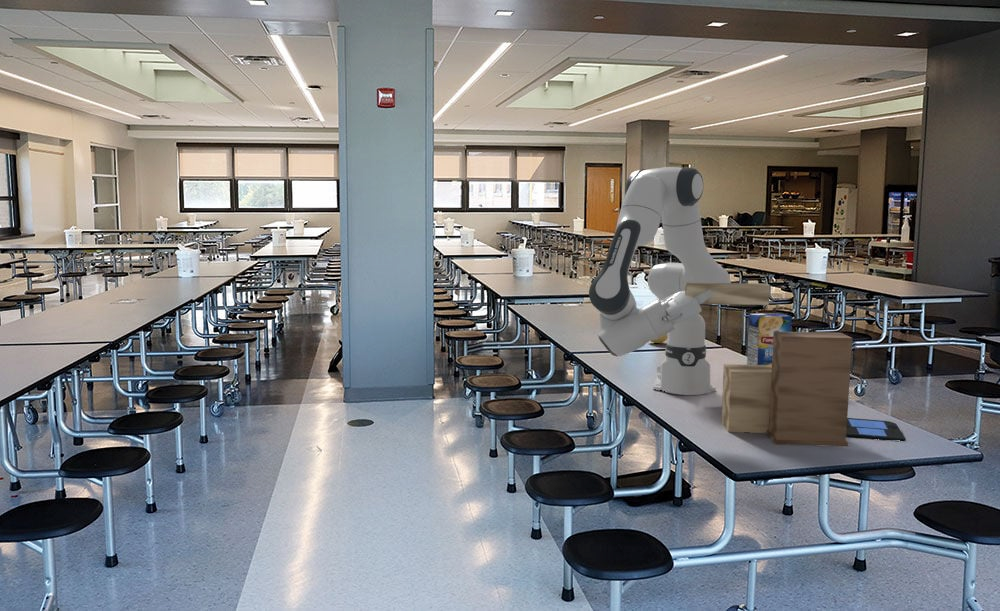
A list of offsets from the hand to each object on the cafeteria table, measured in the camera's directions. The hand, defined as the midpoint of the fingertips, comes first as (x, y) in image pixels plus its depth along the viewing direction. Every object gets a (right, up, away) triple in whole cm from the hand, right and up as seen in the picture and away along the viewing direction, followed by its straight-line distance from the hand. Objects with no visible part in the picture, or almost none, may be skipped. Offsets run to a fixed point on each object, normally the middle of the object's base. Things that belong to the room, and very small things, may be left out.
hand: (709, 291), depth 195 cm
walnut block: (+22, -36, -7) cm, 43 cm away
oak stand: (+16, -35, +3) cm, 39 cm away
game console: (+40, -36, 0) cm, 54 cm away
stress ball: (+12, -19, +122) cm, 124 cm away
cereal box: (+33, -29, +54) cm, 69 cm away
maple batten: (+4, -3, 0) cm, 5 cm away
